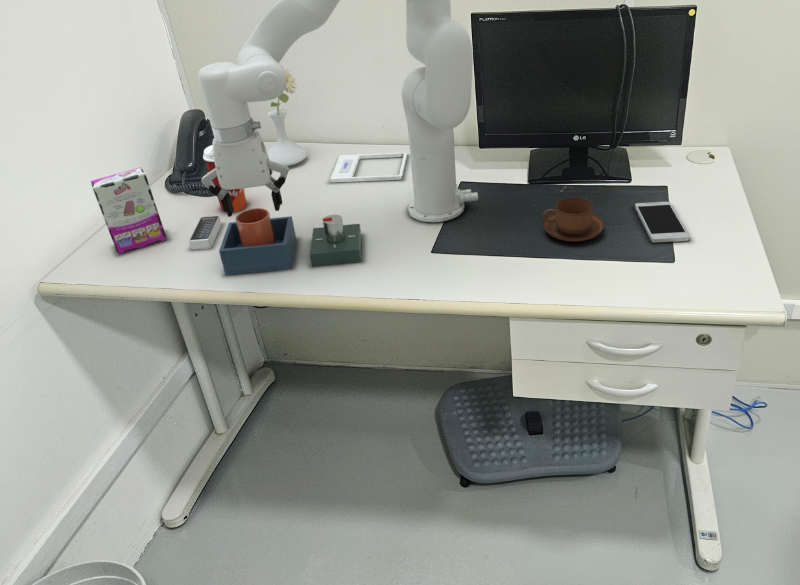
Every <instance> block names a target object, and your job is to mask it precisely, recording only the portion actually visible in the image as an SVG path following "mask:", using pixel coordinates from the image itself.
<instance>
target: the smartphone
mask: <svg viewBox="0 0 800 585" xmlns="http://www.w3.org/2000/svg"><path fill="white" fill-rule="evenodd" d="M634 209H635V211H636V213H637V215H638V218H639V219H640V221H641V224H642V225H643V227H644V229H645V231H646V233H647V236H648V237H649V240H650V242H651V243H655V244H656V243H672V242H688V241H689V240H690V235H689V233H688V232H687V230H686V228H685V227H684V224H683V223H682V221H681V219H680V218H679V215H678V214H677V213H676V211H675V209H674V207H673V206H672V203H670V201H656V202H636V203H635V204H634Z"/></svg>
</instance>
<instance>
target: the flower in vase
mask: <svg viewBox="0 0 800 585" xmlns="http://www.w3.org/2000/svg"><path fill="white" fill-rule="evenodd" d="M280 66H281V67H282V68H283V70H284V72H285V74H286V78H287V84H286V88H285V90H284V91H285V92H286V93H284V92H283V93H282V94H281V95H280V96H279V97H277V102H274V101H271V103H270V107H277V108H276V109H273V110H270V111H268V113H267V116H268V117H270V119H271V120H272V121H273V123H274V127H275V130H276V135H277V139H276V141H275V143H274V144H273V145H272V146H271V147H270V148H269V149H268V150H267V154H268V157H269V160H270V161H272V162H276V163H279V164H282V165H285V166H288V167H291V166H295V165H297V164H298V163H301V162H303V161H304V160H305V159H306V157H307V155H308V152H307V150H306V148H304V147H303V146H301V145H300V144H299V143H296V142H295V141H293V140H291V139H289V137H288V136H287V132H286V127H285V119H286V115H287V113H288V110H287V109H285V108H280V105H281V103H280V101H281V102H282V103H283V104H286V103H288V101H289V100H290V99H289V98H290V97H289V96H288V93H289V94H294V93H296V90H295V89H298V87H297V84H296V82H295V81H296V79H295V77H293V76H292V73H290V70H289V69H288V68H286V69H285V68H284V66H283V65H282V64H280Z"/></svg>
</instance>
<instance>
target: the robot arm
mask: <svg viewBox="0 0 800 585" xmlns="http://www.w3.org/2000/svg"><path fill="white" fill-rule="evenodd" d="M340 2H341V0H278V1H277V2H276V3H275V4H274V5H273V6H272V7H271V8H270V9H269V11H268V12H267V13H265V15H264V16H263V17H262V18H261V19H260V21H259V22H258V23H257V25H256V26H255V28H254V29H253V30H252V32H251V33H250V35H249V37H248V38H247V40H246V41H245V43H244V44H243V47H242V48H241V50H240V51H239V53H238V55H237V58H236V61H235V63H233V62H230V61H218V62H213V63H210V64H207V65H205V66H203V67H201V69H199V71H198V74H197V81H198V83H199V88H200V91H201V94H202V98H203V102H204V105H205V109H206V113H207V116H208V120H209V124H210V127H211V130H212V131H211V132H212V135H213V137H214V138H213V139H212V145H213V155H214V161H215V167H216V168H215V169H213V170H212V171H211V172H209V171H208V173H206V174H205V175H203V177H201V180H200V182H201V184H203V186H204V187H205V188H206V189H208V192H209V193H211V194H213V195H214V196H216V197H217V200H218V199H220V200H221V202H222V206H223V209H224V211H223V212H224V213H226V214H227V215H226V216H227V217H228V218H232V216H233V214H234V212H233V211H234V208H233V204H232V201H231V197H230V194H229V193H227V191H228V190H233V189H242V188H244V189H248V188H257V187H263V186H265V187H266V188H268V189H269V190H270V191H271V193H270V194H271V199H272V204H273V207H274V211H275V212H279V211H280V208H281V205H283V197H282V192H281V188H282V187H283V186H284V185H285V183H286V181H287V177H288V174H289V170H290V168H289V167H290V166H285V165H282V164H279V163H276V162H272V161H270V160H269V157H268V154H267V152H268V150H267V148H266V145H265V143H264V140H263V138H262V135H261V134H260V132H259V131H258V130H260V129H261V128H262V127H261V121H258V120H257V121H256V120H254V119H253V117H252V116H251V113H250V109H249V105H248V104H249V103H255V102H258V103H259V102H267V101H272V100H275V99H278V97H280V95H281V94H282V93H284V92H285V91H286V90H285V88H286V84H287V78H286V74H285V72H284V70H283V68H284V67H283V68H282V67H281V66H282V65H281V64H280V63H281V61H282V59H283V58H284V57H285V55H286V53H287V52H288V51H289V50H290V48H291V47H292V46H293V45H294V44H295V43H296V42H297V41H298V40H299V39H300V38H301V37H303V36H305V35H306V34H309V33H311V32H314V31H316V30H318V29H320V28H321V27H323V26H324V25H325V24H326V23H327V22H328V19H329V18H330V17H331V15H332V13H333V12H334V11H335V9H336V8H337V6H338V5H339V3H340ZM405 8H406V9H405V14H406V15H405V16H406V17H405V18H406V19H405V24H406V25H405V26H406V29H405V31H406V33H405V34H406V35H405V36H406V38H405V39H406V41H405V42H406V47H407V50H408V53H409V54H410V55H411V56H412V57H413V58H414V59H415V60H416V61H418V62H419V63H421V64H423V65H424V66H421V67H417V68H415V69H413V70H412V71H410V72H409V73H408V75H407V76H406V77H405V79H404V80H403V84H402V88H401V102H402V105H403V111H404V115H405V120H406V124H407V131H408V140H409V155H410V156H409V157H410V165H411V177H412V187H413V200H412V201H410V202H409V204H408V207H407V209H408V215H409V216H410V217H412V218H413V219H415V220H417V221H419V222H426V223H441V222H446V221H450V220H453V219H455V218H458V217H459V216H461V214H462V213H463V212H464V211H465V203H466V202H478V201H479V194H478V192H477V191H475V192H472V189H470V188H467V189H460V188H458V184H457V173H456V155H455V153H456V152H455V133H454V129H455V128H457V127H458V126H460V125H461V124H462V123H463V122H464V121H465V119H466V117H467V116H468V113H469V110H470V106H471V100H472V86H473V84H472V81H473V45H472V40H471V37H470V35H469V32H468V31H467V29H466V28H465V27H464V25H462V24H461V23H459V22H458V21H455V20H454V19H453V18H452V14H451V12H452V10H451V0H405ZM280 65H281V66H280ZM273 171H274V172H277V173H279V174H280V176H278V178H277V179H276V178H275V177H274V176H272V175H273ZM215 177H218V181H219V184H220V186H221V188H220V187H219V186H217V185H215V184H213V182H212V179H214V178H215ZM226 211H227V212H226Z"/></svg>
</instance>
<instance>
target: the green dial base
mask: <svg viewBox="0 0 800 585" xmlns="http://www.w3.org/2000/svg"><path fill="white" fill-rule="evenodd" d="M343 227H344V234H345V238H344V240H342V241H340V242H337V243H330V242H327V241H326V237H325V232H324V226H322V227H313V229H312V234H311V242H310V250H309V257H310V262H311V267H312V268H313V267H323V266H332V265H342V264H343V265H344V264H352V263H355V264H356V263H361V262H362V232H361V224H360V223H352V224H343Z"/></svg>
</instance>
